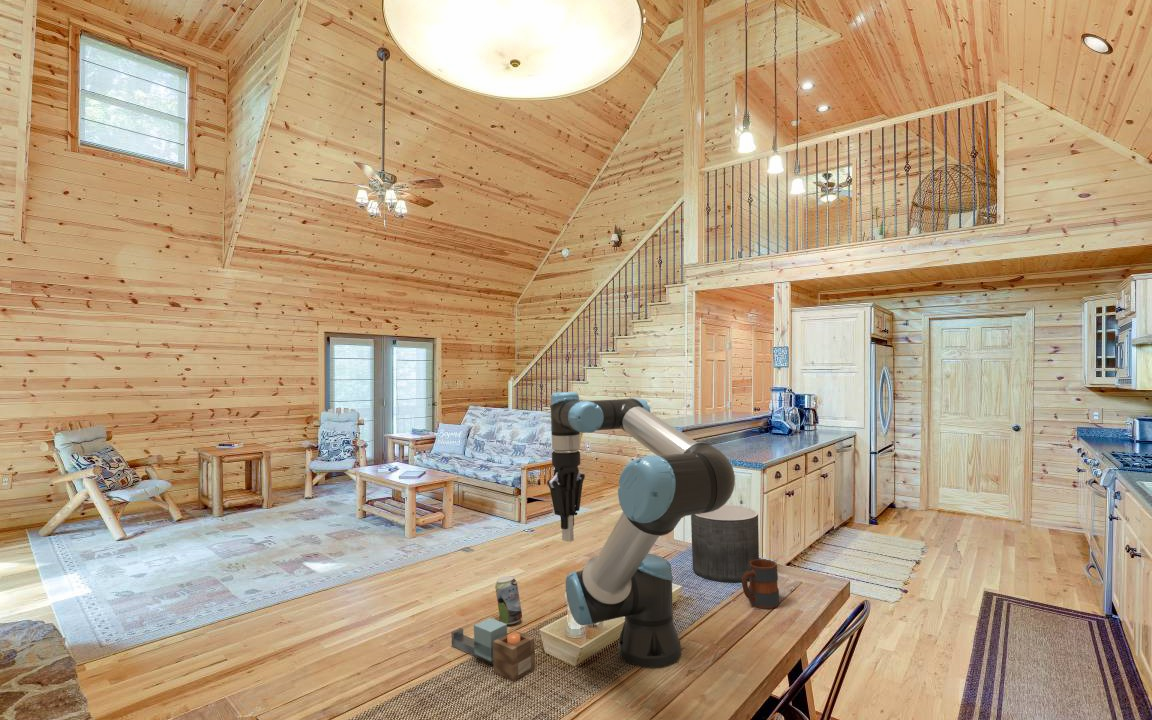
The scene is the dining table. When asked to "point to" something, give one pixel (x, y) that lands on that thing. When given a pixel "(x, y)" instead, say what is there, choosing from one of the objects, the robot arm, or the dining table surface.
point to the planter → (724, 542)
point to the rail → (465, 643)
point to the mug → (762, 584)
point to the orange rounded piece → (513, 638)
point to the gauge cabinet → (514, 656)
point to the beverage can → (508, 600)
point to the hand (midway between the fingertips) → (567, 540)
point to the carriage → (487, 637)
